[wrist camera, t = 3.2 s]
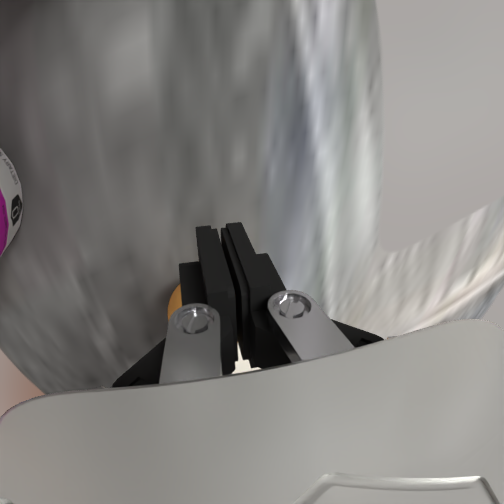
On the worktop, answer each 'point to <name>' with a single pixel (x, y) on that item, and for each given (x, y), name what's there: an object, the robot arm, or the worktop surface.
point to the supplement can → (9, 202)
